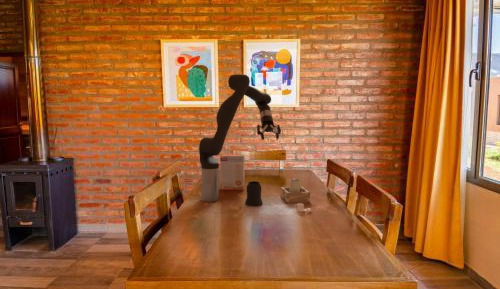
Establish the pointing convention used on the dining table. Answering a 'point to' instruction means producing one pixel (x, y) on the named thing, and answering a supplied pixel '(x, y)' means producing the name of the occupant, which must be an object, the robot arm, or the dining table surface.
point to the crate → (295, 195)
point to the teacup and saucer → (301, 208)
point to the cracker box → (232, 172)
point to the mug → (253, 194)
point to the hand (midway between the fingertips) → (270, 138)
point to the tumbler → (294, 185)
